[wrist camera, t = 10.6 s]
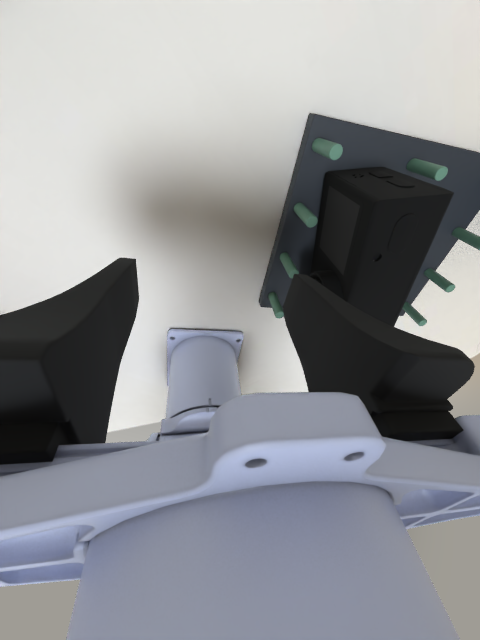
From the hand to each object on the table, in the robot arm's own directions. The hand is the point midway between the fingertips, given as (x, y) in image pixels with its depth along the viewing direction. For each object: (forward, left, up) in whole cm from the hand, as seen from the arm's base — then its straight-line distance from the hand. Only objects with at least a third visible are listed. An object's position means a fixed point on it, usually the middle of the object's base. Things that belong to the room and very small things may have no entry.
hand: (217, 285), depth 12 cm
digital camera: (0, -10, -10) cm, 14 cm away
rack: (0, -14, -10) cm, 17 cm away
